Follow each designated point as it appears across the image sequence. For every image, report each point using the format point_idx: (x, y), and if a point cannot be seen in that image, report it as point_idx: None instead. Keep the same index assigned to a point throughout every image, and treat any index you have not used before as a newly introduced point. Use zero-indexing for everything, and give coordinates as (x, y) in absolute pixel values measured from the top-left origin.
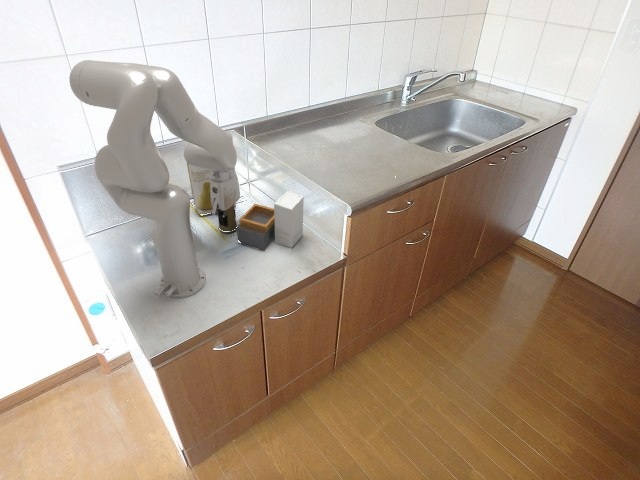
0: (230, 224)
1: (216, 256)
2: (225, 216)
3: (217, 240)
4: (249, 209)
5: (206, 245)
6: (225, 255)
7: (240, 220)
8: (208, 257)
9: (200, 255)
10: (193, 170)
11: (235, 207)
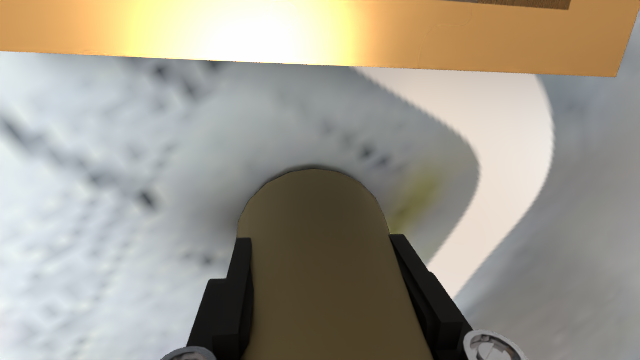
0: (375, 224)
1: (615, 137)
2: (470, 336)
3: (454, 223)
4: (119, 40)
5: (515, 252)
6: (602, 83)
7: (606, 43)
8: (625, 177)
9: (608, 228)
10: None
11: (174, 353)
